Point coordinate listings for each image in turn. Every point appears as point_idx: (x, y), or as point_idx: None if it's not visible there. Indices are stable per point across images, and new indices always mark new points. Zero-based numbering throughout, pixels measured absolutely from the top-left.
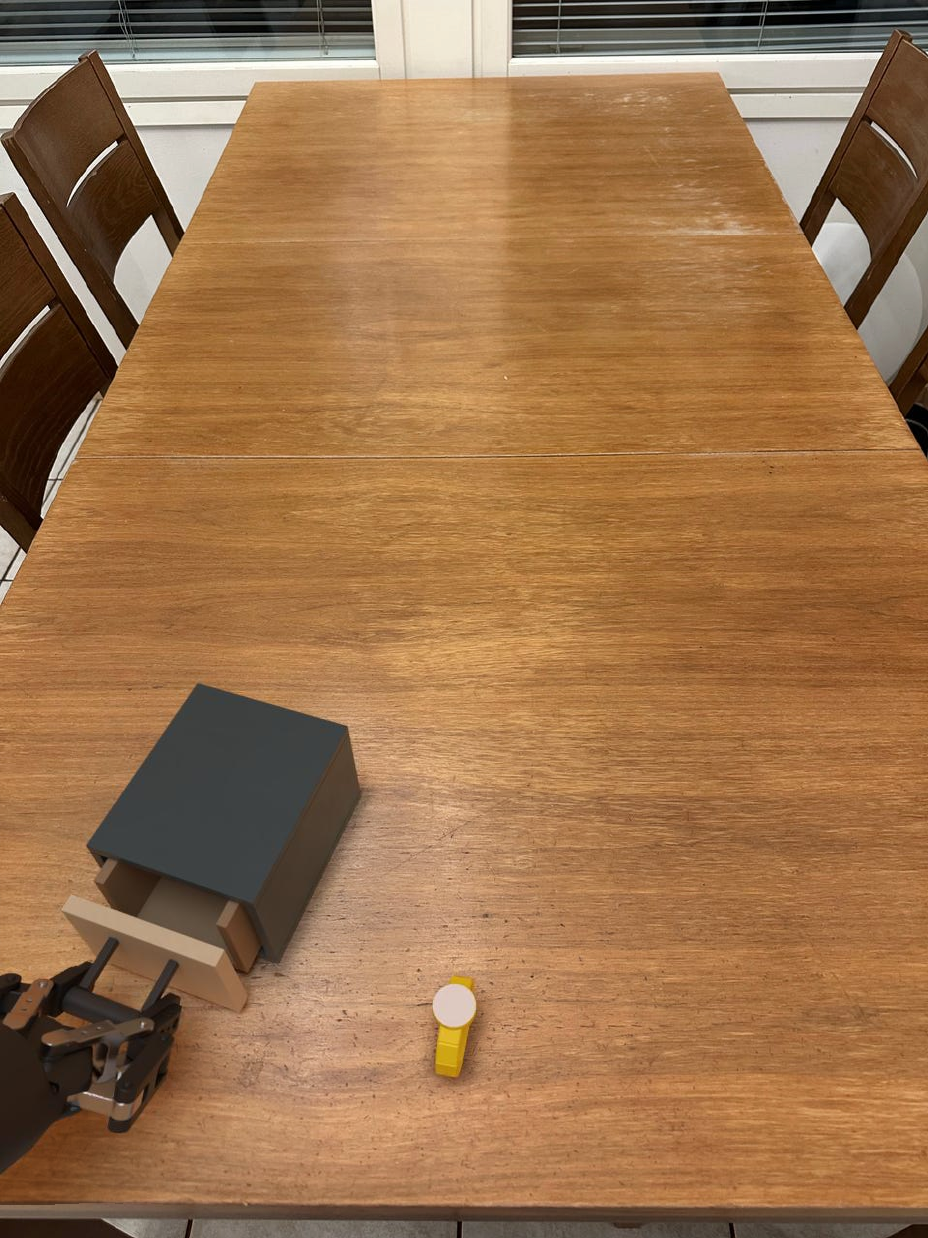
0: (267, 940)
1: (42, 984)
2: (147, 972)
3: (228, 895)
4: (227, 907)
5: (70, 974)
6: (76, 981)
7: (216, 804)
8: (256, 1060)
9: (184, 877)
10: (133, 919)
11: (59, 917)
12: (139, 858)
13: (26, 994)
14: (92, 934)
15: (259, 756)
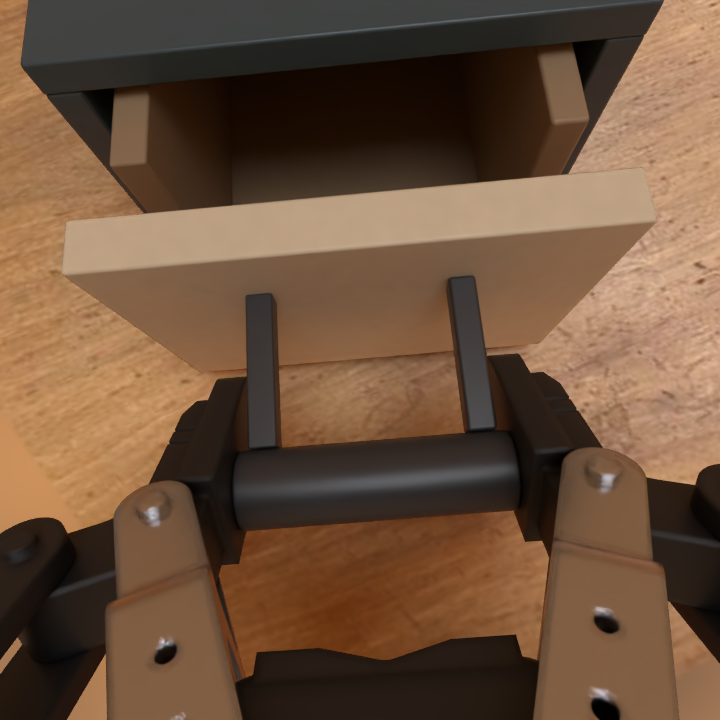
0: None
1: (154, 512)
2: (329, 350)
3: (571, 11)
4: (550, 72)
5: (210, 431)
6: (235, 440)
7: None
8: (607, 407)
9: (400, 18)
10: (310, 204)
11: (73, 338)
12: (218, 28)
13: (128, 618)
14: (186, 315)
15: None
